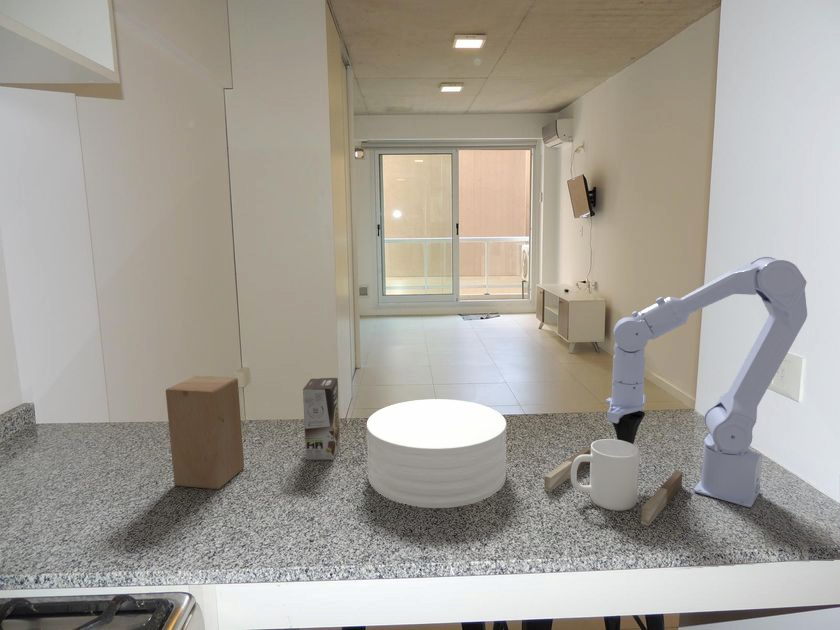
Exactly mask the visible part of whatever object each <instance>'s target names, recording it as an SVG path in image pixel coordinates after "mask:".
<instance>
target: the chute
mask: <svg viewBox="0 0 840 630" xmlns="http://www.w3.org/2000/svg"><path fill="white" fill-rule="evenodd" d="M584 454H588V455H591V446H590V447H589V446H585V447H583V449H580V451H578V452H577V453H575V454H573V456H571V457H569V458H567V460H565V461H564V462H562V463H561V464H560V465H558V466H557V467H555V468H554V469H553V470H551V471H549V472H548V473H547V474H546V475H544V490H546V491H545V492H547V491H549V492H548V493H552V492H553V491H554V490H556V489H557V488H558V487H559V486H558V485H560V484H561V483H562V484H564V483H565V482H566V481H567V480H568V478H569V477H570V478H571V467H572V464H573V461H574V460H575V458H576V457H578V456H580V455H584ZM589 464H590V463H589V462H585V461H583V462H581V463H580V464H579V466H578V469H577V471H578V472H579V471H580V470H582V469H583V468H584V467H586V466H587V465H589ZM585 465H586V466H585ZM581 468H582V469H581ZM683 473H684V472H683V471H679V470H675V471H674V472H673V473H672V474H671V475H670V476H669V477H668V479H666V481H665V482H664V483H663V484H662V485H661V486H660V487H659V489H657V490H656V491H655V492H654V493H653V494H652V496H651V497H650V498H649V499H648V500H647V501H646V502H645V503H644V504H643V505H642V507H641V516H640V517H641V520H640V521H641V522H640V524H641V525H645V526H646V527H647V526H648V527H649V526H650V525H651V524H652V523H653V521H654V520H655V519H656V518H657V516H659V514H660V513H661V512H662V511H663V509H664V508H665V507H666V506H667V505H668V504H669V503H670V501H672V499H673V498H674V497H675V496H676V494H677V493H678V492H679V491H680V490H681V489H682V488H683V475H684V474H683ZM570 478H569V479H570ZM564 481H565V482H564ZM562 484H561V485H562ZM561 485H560V486H561ZM557 486H558V487H557ZM556 487H557V488H556ZM555 488H556V489H555ZM553 489H554V490H553ZM544 490H543V491H544ZM552 490H553V491H552ZM551 491H552V492H551Z"/></svg>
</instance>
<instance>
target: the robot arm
mask: <svg viewBox="0 0 840 630" xmlns="http://www.w3.org/2000/svg"><path fill="white" fill-rule="evenodd" d="M807 282H808V281H807V280H806V278H805V276H804V275H803V273H802V272H801V270H800V269H799V267H798V266H797V265H796V264H794V262H791V261H789V260H786V259H785V260H784V259H776V257H771V256H761V257H758V258H755V259H754V260H752V261H751V262H750V263H743V264H741V265H739V266H737V267H734V268H733V269H731V270H729V271H726V272H725V273H724V274H722V275H720V276H718V277H716V278H714V279H713V280H711V281H709V282H707V283H706V284H704V285H701V286H700V287H698V288H697V289H695V290H693V291H692V292H690V293H688V294H687V293H686V295H683V296H682V297H680V298H678V297H674V296H667V297H666V298H663V296H660V297H658V298H656V299H655V302H656V303H654V304H652V305H650V306H648V307H646V308H644V309H642V310H640V311H637V310H635V311H632V313H631V316H630V317H629V316H625V317H622V318H620V319H619V320H618V321H617V322H616V324H614V328H613V330H612V334H613V335H612V336H613V339H614V342H615V343H614V346H613V354H614V355H613V356H612V375H611V376H612V382H611V383H612V385H611V387H612V388H611V397H608V398H606V399H605V404H609V409H608V410H607V411H606V422H609V423H612V425H613V428H614V432H615V434H616V440H622V441H626V442H629V443H631V444H633V445H634V443H635V440H636V435H637V433H638V429H639V427H640V425H641V423H642V421H643V420H644V418H645V416H646V412H645V411H642V410H644V409H645V404H646V402H647V401H646V400H647V399H646V398H647V395H646V394H645V393H644V392H645V371H646V369H645V368H646V358H645V347H646V346H647V344H648V342H649V341H650V340H655V339H657V338H660V337H661V336H664V335H666V334H668V333H670V332H671V331H673V330H675V329H678V328H679V327H681V326H683V325H686V324H687V321H688V318H689V316H690V315H691V314H692V313H694V312H697V311H699V310H701V309H703V308H705V307H708V306H710V305H713V304H714V303H717V302H719V301H721V300H723V299H726V298H729V297H730V296H732V295H750V296H751V295H752V296H754V295H756V296H757V295H758V296H759V297H760V298H761V301H762V303H763V304H764V307H765V308H766V310H767V312H768V317H767V319H766V321H765V322H764V324H763V326H762V328H761V330H760V331H759V333H758V335H757V337H756V339H755V341H754V342H753V344H752V346H751V349H749V352H748V354H747V356H746V358H745V359H744V361H743V363H742V365H741V367H740V369H739V371H738V373H737V375H736V376H735V378H734V380H733V382H732V384H731V386H730V388H729V390H728V391H727V392H724V393H723V394H722V395H721V396H720V397H719V400H717V402H716V403H715V404H714V405H712V406H711V407H709V408H708V409H707V411H706V412H705V413H704V416H703V423H704V425H705V428H706V429H707V431H708V434H707V435H706V437H705V438H704V439H703V448H702V449H703V450H702V451H703V453H702V464H701V465H702V466H701V478H700V481H699V482H698V483H697V484H696V486H695V487H694V488H693V492H694V493H697V494H701V495H704V496H708V497H711V498H714V499H719V500H722V501H725V502H729V503H733V504H736V505H739V506H743V507H747V508H752V506H753V505H754V503H755V502H756V500H757V498H758V496H759V494H760V491H761V490H760V488H761V474H762V465H763V464H762V463H763V456H762V454H761V453H758V452H755V451H753V450H751V449H749V447H750V446H751V445H752V441H753V429H754V426H755V425H756V423H757V419H758V418H757V417H758V407H759V404H760V403H761V401H762V399H763V397H764V395H765V394H766V392H767V390H768V388H769V386H770V384H771V383H772V381H773V380H774V377H775V376H776V374H777V372H778V370H779V369H780V368H781V365H782V363H783V362H784V359H785V358H786V356H787V354H788V352H789V351H790V349H791V347H792V346H793V343H794V342H795V340H796V338H797V336H798V334H799V333H800V332H801V329H802V328H803V326H804V324H805V323H806V320H807V317H808V307H807V296H806V286H807V284H808V283H807Z"/></svg>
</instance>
